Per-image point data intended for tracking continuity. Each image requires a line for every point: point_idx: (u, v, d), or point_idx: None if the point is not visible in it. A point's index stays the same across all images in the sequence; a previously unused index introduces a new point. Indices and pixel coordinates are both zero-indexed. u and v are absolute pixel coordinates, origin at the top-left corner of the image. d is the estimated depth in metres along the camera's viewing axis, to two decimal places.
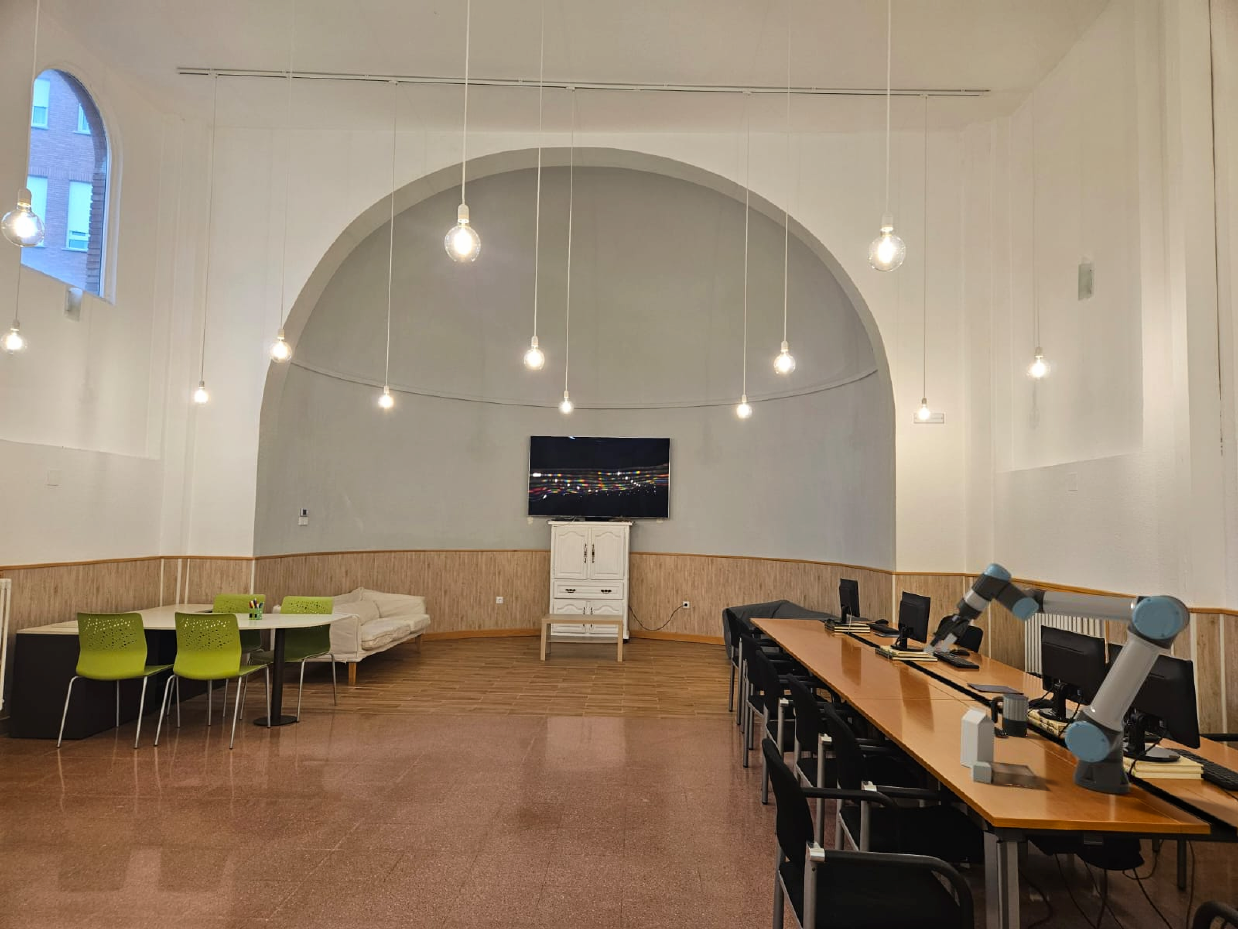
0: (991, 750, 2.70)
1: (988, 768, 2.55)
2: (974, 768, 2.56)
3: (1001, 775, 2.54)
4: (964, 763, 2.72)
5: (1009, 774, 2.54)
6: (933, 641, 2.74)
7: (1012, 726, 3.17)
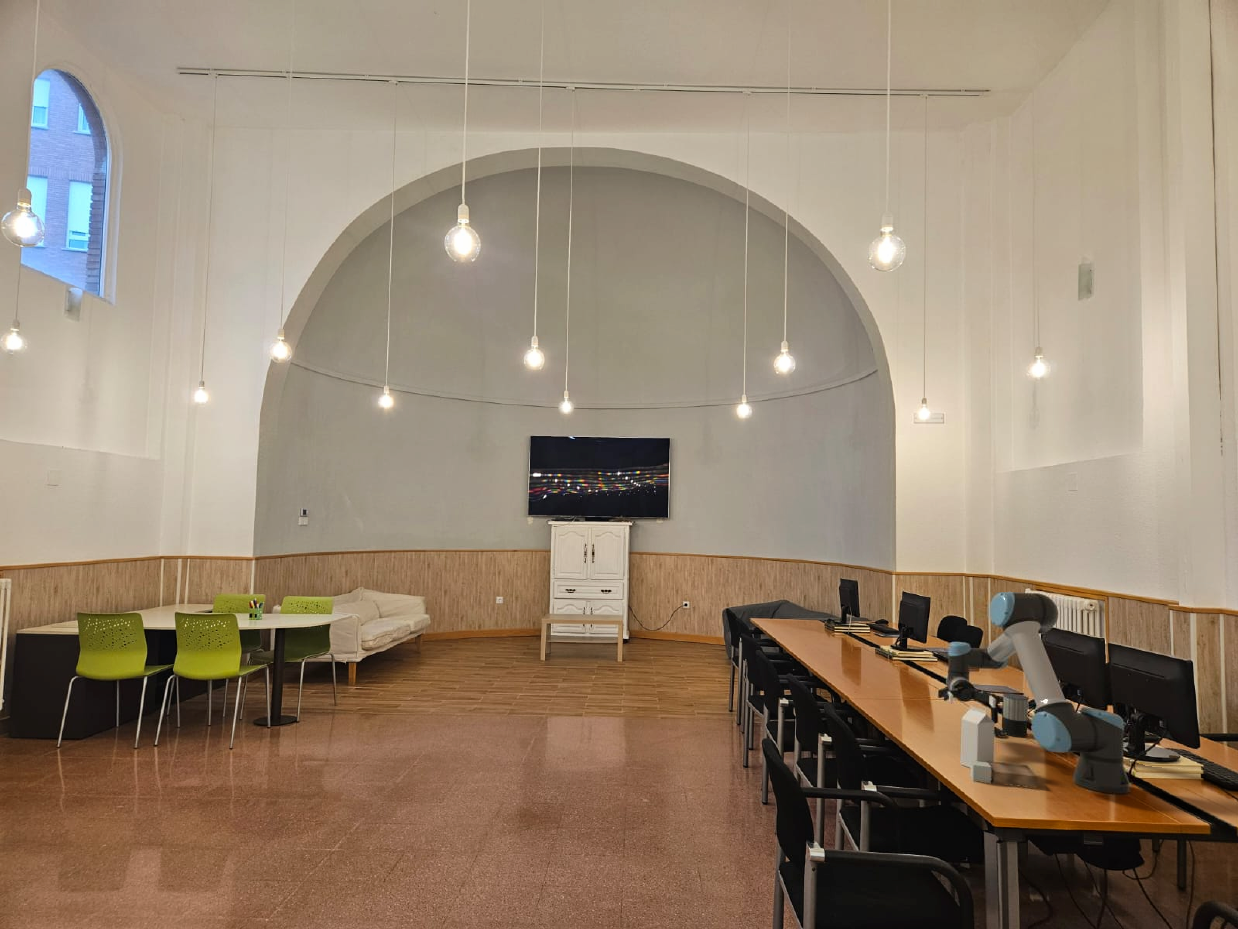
0: (991, 750, 2.70)
1: (988, 768, 2.55)
2: (974, 768, 2.56)
3: (1001, 775, 2.54)
4: (964, 763, 2.72)
5: (1009, 774, 2.54)
6: (944, 696, 2.89)
7: (1012, 726, 3.17)
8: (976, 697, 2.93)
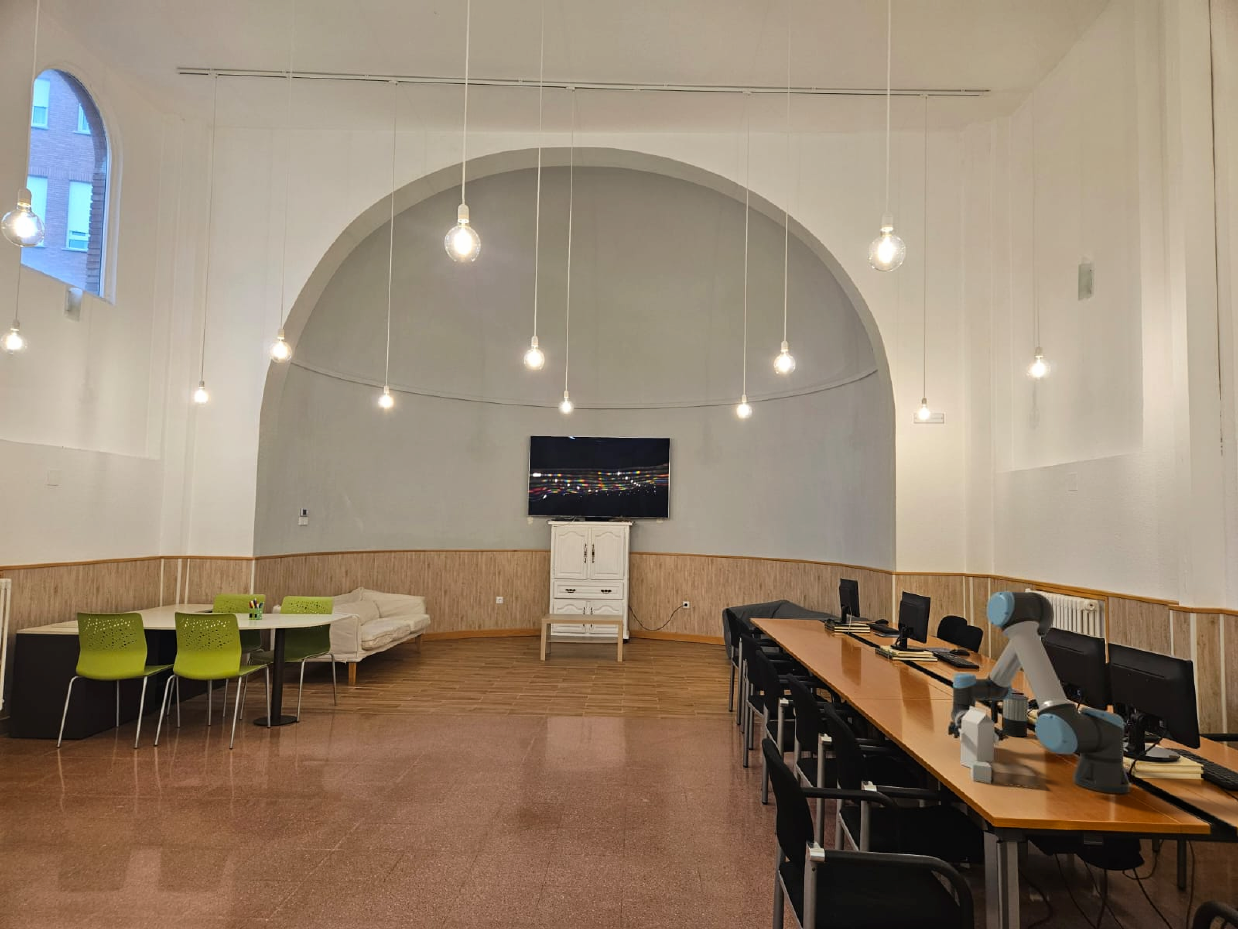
0: (991, 750, 2.70)
1: (988, 768, 2.55)
2: (974, 768, 2.56)
3: (1001, 775, 2.54)
4: (964, 763, 2.72)
5: (1009, 774, 2.54)
6: (955, 733, 2.74)
7: (1012, 726, 3.17)
8: None
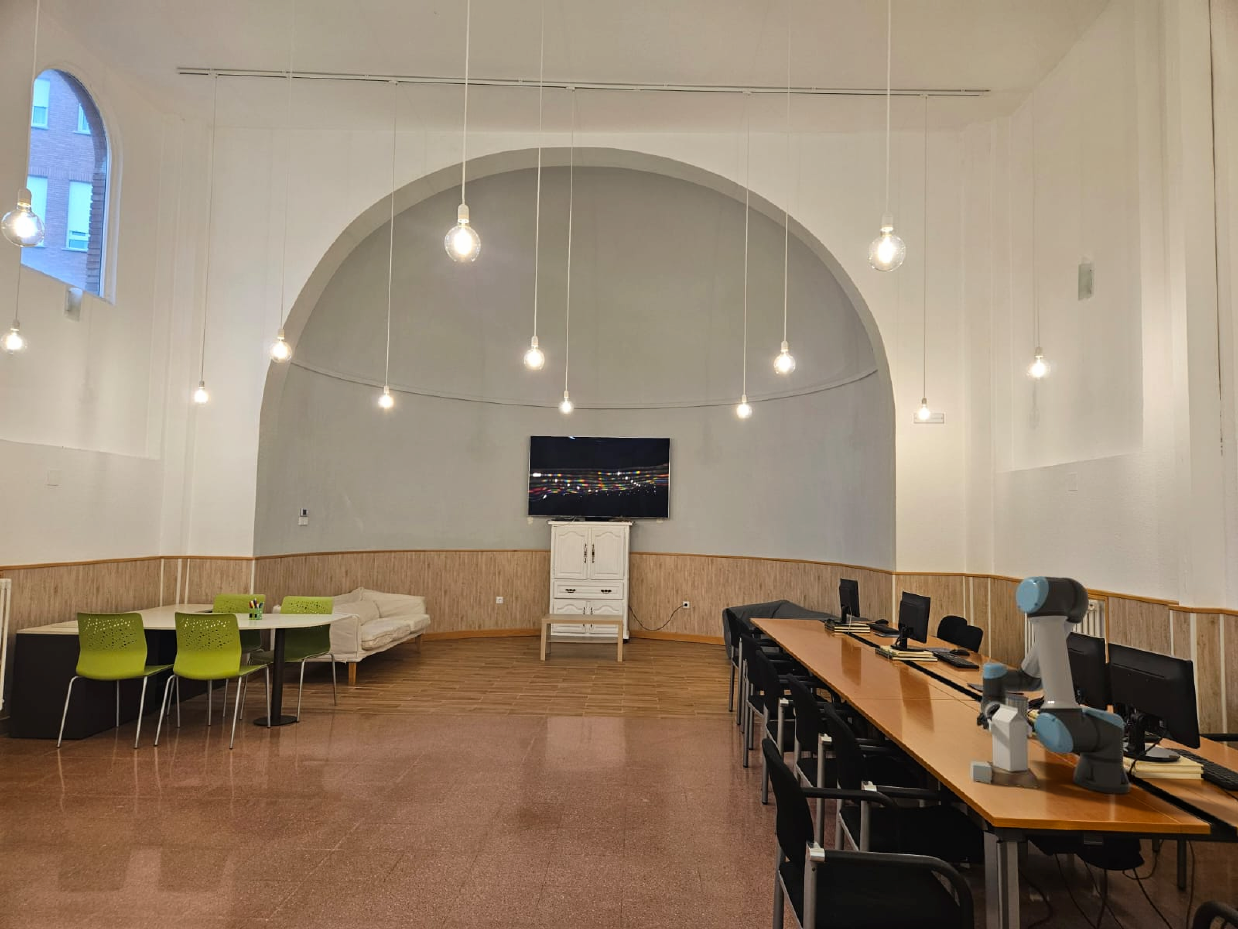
0: (1025, 750, 2.57)
1: (988, 768, 2.55)
2: (974, 768, 2.56)
3: (1001, 776, 2.54)
4: (997, 764, 2.60)
5: (1009, 775, 2.54)
6: (984, 724, 2.63)
7: None
8: None
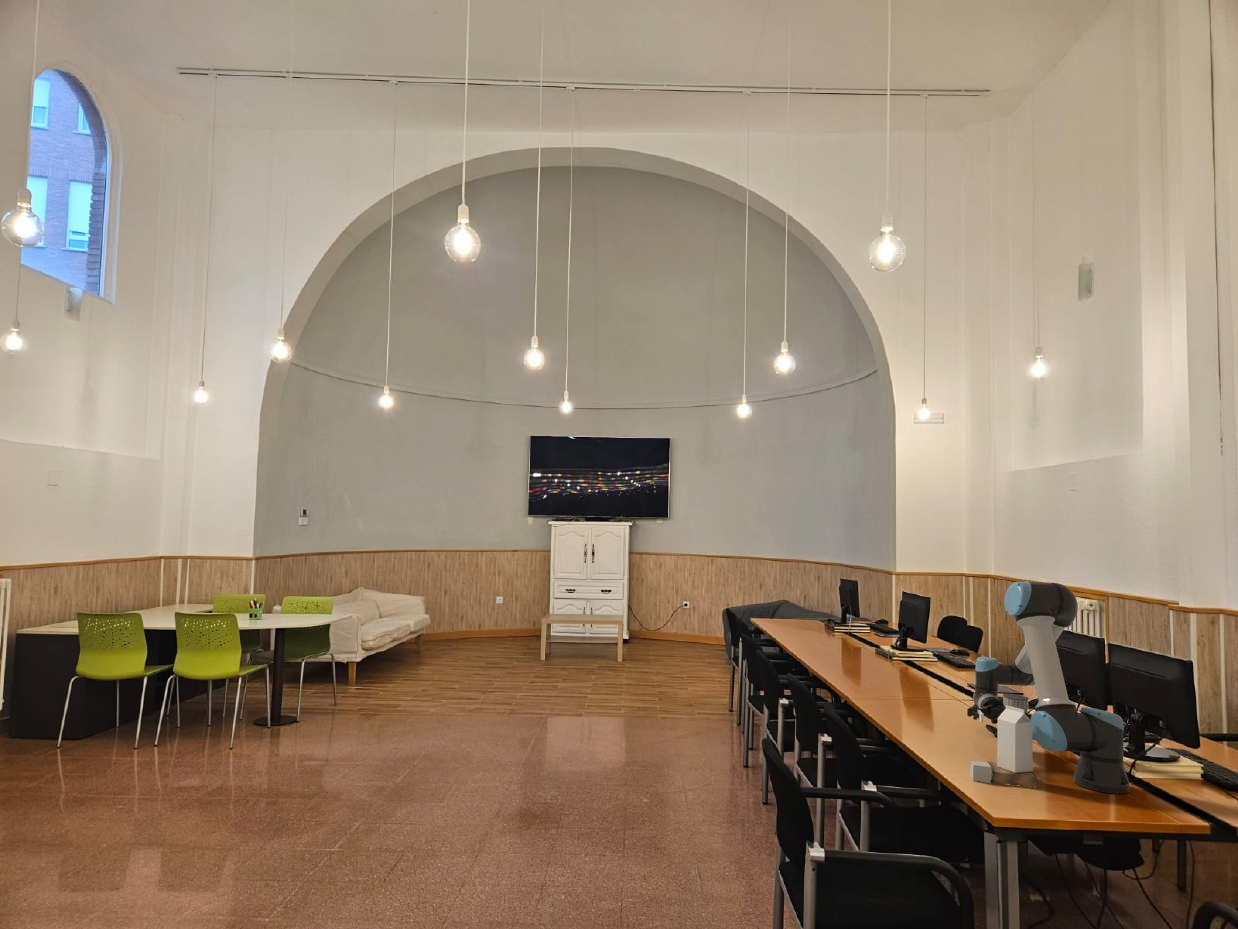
0: (1030, 751, 2.56)
1: (988, 768, 2.55)
2: (974, 768, 2.56)
3: (1002, 776, 2.54)
4: (1001, 765, 2.59)
5: (1010, 775, 2.54)
6: (974, 715, 2.76)
7: None
8: None
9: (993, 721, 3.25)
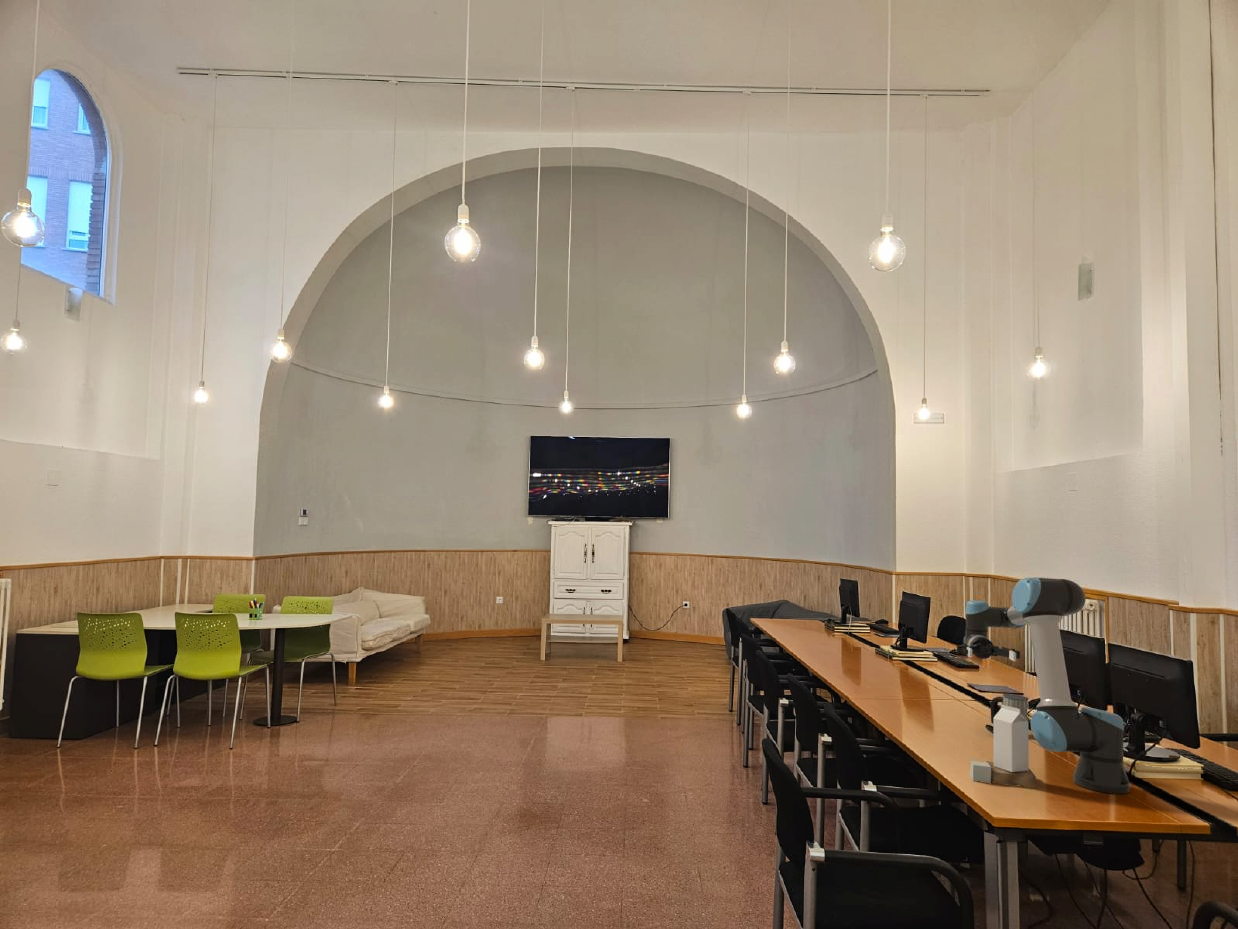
0: (1026, 750, 2.57)
1: (988, 768, 2.55)
2: (974, 768, 2.56)
3: (1001, 776, 2.54)
4: (998, 765, 2.59)
5: (1008, 775, 2.54)
6: (963, 651, 2.84)
7: None
8: (995, 653, 2.88)
9: (993, 721, 3.25)
